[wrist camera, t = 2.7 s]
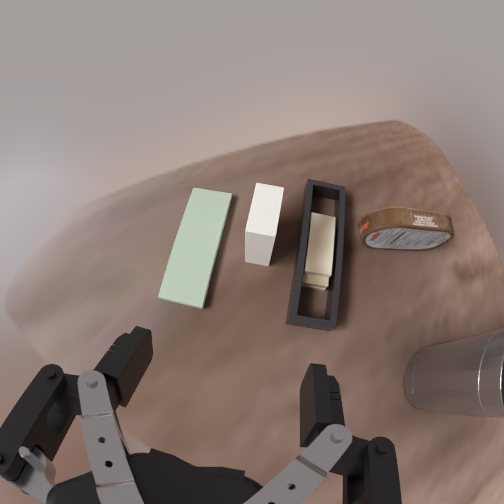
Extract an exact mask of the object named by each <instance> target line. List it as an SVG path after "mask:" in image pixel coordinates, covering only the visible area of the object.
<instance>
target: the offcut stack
mask: <svg viewBox="0 0 504 504" xmlns="http://www.w3.org/2000/svg"><path fill="white" fill-rule="evenodd" d="M335 218H336V217H332V216H327V215H322V214H318V213H313V212H312V214H311V216H310V220H309V229H308V238H307V246H306V254H305V262H304V270H303V277H302V284H301V287H305V288H311V289H317V290H322V291H325V290H326V288H327V287H328V282H329V277H330V276H331V273H332V262H333V249H334V235H335Z"/></svg>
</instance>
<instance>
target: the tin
mask: <svg viewBox="0 0 504 504" xmlns="http://www.w3.org/2000/svg"><path fill="white" fill-rule="evenodd" d="M451 221H452V219H451V217H450V216H449V215H448V214H446V213H441V212H434V211H428V210H421V209H414V208H407V207H386V208H381V209H377V210H374V211H372V212H369V213H367V214H366V215H365V216H363V217H362V218H361V219H360V220H359V222H358V227H359V230H360V238H361V241H362V243H363V244H364V245H365V246H367V247H370V248H377V249H394V250H415V251H418V250H428V249H432V248H436V247H439V246H440V245H442V244H443V243H445V242H447V241H448V240H450V239H452V238H453V236H454V231H453V226H452V222H451Z"/></svg>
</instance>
